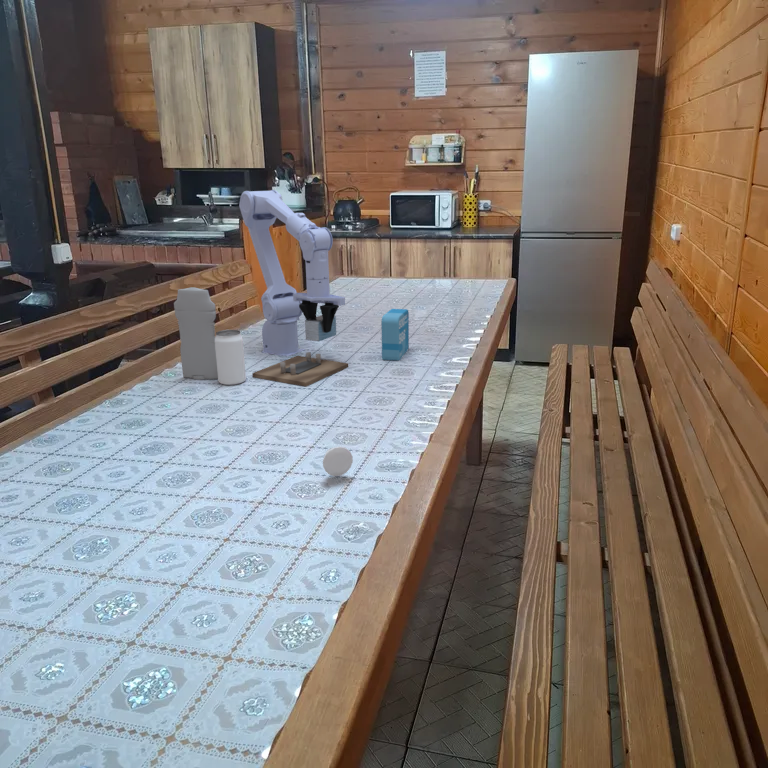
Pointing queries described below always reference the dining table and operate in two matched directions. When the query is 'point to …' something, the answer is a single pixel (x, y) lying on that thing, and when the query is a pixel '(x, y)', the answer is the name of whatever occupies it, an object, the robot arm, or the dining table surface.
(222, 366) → the can
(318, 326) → the block
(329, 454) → the grey oval shape
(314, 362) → the pin tray
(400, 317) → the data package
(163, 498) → the dining table surface
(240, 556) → the dining table surface
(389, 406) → the dining table surface
